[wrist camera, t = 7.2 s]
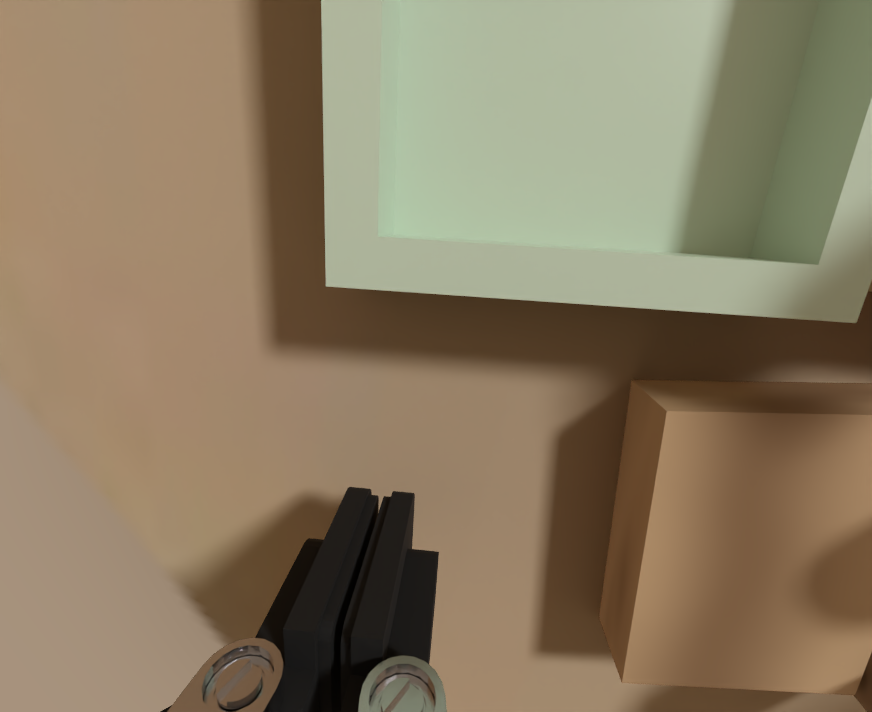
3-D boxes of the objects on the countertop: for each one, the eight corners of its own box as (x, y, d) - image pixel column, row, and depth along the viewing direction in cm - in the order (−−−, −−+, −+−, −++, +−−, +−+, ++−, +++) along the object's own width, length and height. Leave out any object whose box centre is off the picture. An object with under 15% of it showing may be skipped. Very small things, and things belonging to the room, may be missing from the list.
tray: (931, -273, 7) (1157, -514, 5) (764, 301, 10) (855, 323, 8) (358, -283, 8) (312, -511, 5) (355, 273, 11) (325, 286, 8)
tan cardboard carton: (859, 378, 11) (962, 416, 9) (787, 615, 13) (855, 695, 11) (625, 374, 12) (667, 411, 9) (595, 607, 14) (621, 682, 12)
